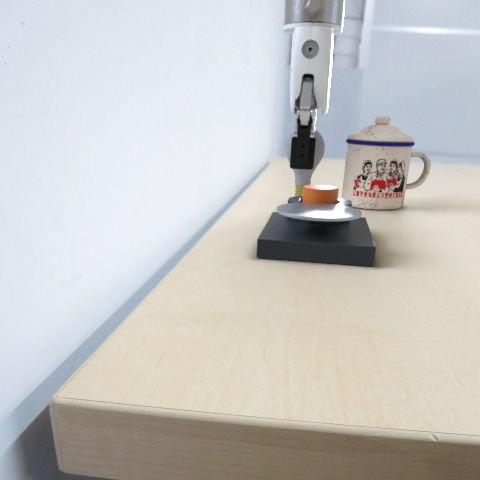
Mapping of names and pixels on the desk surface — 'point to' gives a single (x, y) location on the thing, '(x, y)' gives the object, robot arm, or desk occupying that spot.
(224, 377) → the desk surface
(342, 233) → the scale
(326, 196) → the short orange cylinder
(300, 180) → the light bulb
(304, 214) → the weigh plate
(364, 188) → the teacup with lid
